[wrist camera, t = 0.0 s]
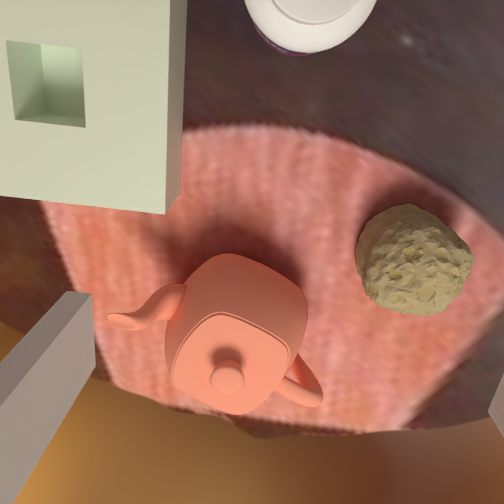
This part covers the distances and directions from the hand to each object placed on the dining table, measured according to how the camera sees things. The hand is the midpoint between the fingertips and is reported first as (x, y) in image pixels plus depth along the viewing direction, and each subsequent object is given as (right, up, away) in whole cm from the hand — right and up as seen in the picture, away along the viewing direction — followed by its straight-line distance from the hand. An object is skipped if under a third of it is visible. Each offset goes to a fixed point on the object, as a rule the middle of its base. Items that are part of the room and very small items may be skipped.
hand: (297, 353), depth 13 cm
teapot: (-3, -2, +32) cm, 32 cm away
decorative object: (+13, +3, +29) cm, 32 cm away
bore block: (-16, +18, +24) cm, 34 cm away
